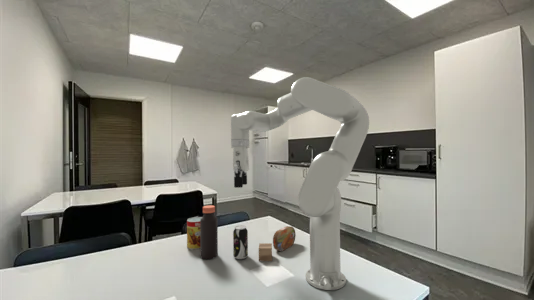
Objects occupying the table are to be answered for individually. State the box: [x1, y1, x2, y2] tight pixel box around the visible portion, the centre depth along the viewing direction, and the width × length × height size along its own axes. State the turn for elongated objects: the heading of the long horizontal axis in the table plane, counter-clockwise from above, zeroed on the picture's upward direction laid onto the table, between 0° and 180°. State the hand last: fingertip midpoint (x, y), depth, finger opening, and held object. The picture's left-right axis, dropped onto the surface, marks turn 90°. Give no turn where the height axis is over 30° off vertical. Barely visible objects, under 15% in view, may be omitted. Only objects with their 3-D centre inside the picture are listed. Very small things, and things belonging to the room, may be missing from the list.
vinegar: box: [199, 204, 219, 260], centre depth 95 cm, size 7×7×20 cm
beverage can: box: [232, 225, 249, 260], centre depth 94 cm, size 6×6×12 cm
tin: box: [272, 226, 297, 252], centre depth 103 cm, size 15×3×8 cm, turn 143°
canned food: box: [186, 216, 203, 250], centre depth 106 cm, size 8×8×12 cm
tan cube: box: [258, 242, 273, 262], centre depth 92 cm, size 5×5×5 cm
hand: (241, 185), depth 96 cm, fingers open, 9 cm apart
